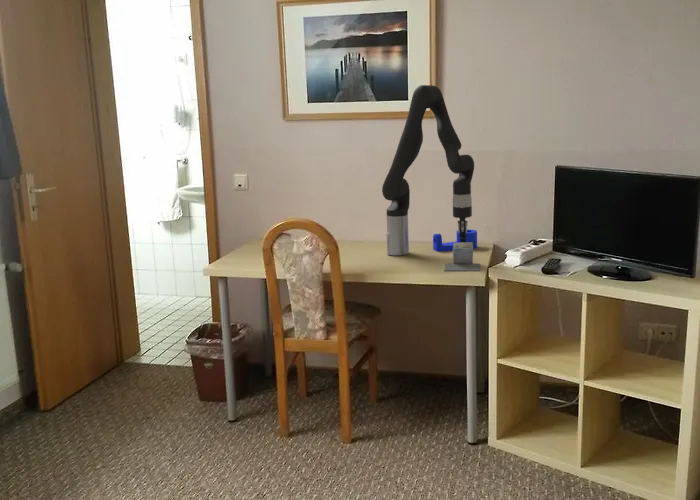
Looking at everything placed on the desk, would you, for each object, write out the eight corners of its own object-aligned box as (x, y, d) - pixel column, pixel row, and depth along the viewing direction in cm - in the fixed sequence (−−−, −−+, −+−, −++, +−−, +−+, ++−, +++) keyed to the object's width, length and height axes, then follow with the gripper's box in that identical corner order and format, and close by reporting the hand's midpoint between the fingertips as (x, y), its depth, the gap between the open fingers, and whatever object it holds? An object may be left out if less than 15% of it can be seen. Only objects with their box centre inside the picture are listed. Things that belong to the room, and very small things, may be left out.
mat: (444, 271, 280) (444, 270, 280) (445, 264, 290) (445, 263, 290) (480, 271, 278) (480, 270, 277) (480, 264, 288) (480, 263, 288)
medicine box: (472, 256, 293) (472, 241, 286) (472, 264, 290) (473, 249, 283) (452, 256, 294) (452, 242, 287) (453, 264, 290) (453, 250, 284)
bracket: (472, 245, 326) (472, 228, 325) (480, 249, 317) (480, 232, 316) (431, 249, 322) (431, 232, 321) (438, 253, 314) (437, 235, 312)
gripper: (452, 202, 294) (453, 244, 297) (452, 207, 281) (453, 250, 285) (471, 202, 293) (472, 243, 296) (471, 207, 280) (472, 250, 284)
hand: (462, 247), depth 290 cm, fingers closed
